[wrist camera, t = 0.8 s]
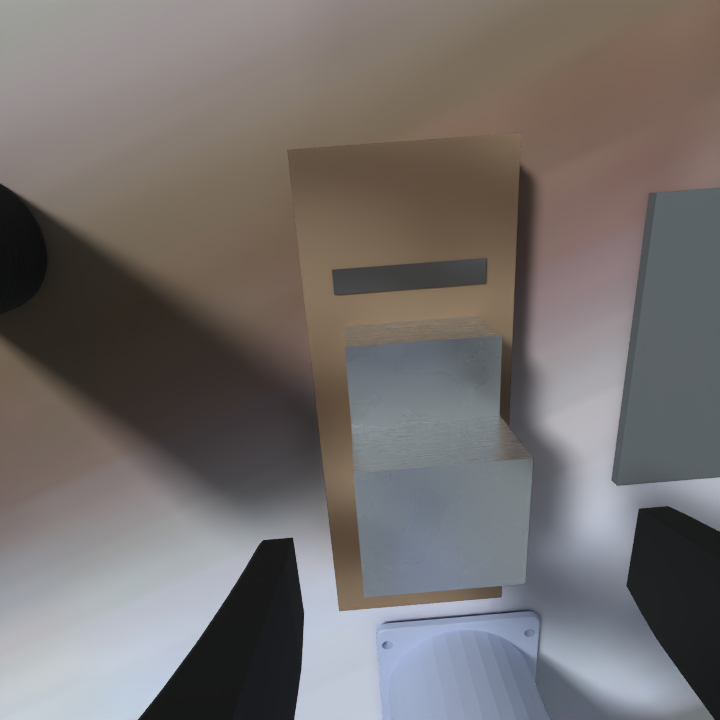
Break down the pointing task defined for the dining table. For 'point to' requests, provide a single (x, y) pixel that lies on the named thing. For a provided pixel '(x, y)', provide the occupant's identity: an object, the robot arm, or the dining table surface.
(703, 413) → the mat
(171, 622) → the dining table surface
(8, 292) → the drinking cup
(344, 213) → the body
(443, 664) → the robot arm
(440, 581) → the grey stepped block
